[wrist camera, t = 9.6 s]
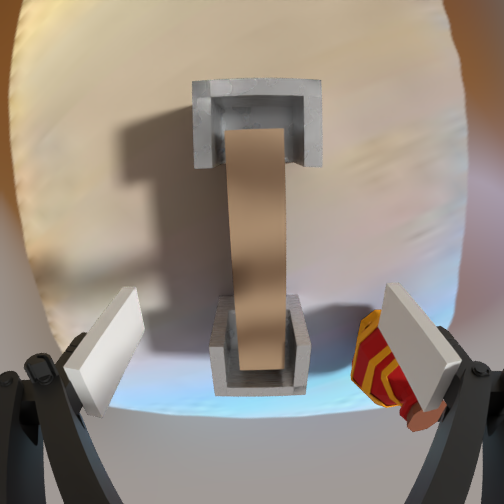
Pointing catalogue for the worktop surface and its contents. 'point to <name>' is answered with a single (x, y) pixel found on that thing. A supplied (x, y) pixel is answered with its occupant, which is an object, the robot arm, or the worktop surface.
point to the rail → (258, 243)
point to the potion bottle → (386, 376)
